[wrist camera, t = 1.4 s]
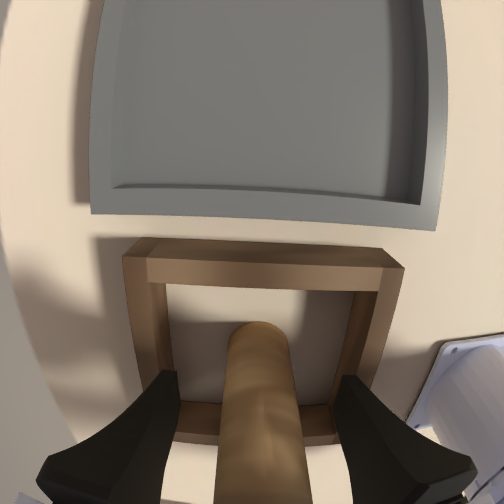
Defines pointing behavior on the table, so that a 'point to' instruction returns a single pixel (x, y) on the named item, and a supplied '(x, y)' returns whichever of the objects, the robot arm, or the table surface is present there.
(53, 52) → the table surface
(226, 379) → the pin
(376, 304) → the holder
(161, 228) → the table surface
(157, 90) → the tray
